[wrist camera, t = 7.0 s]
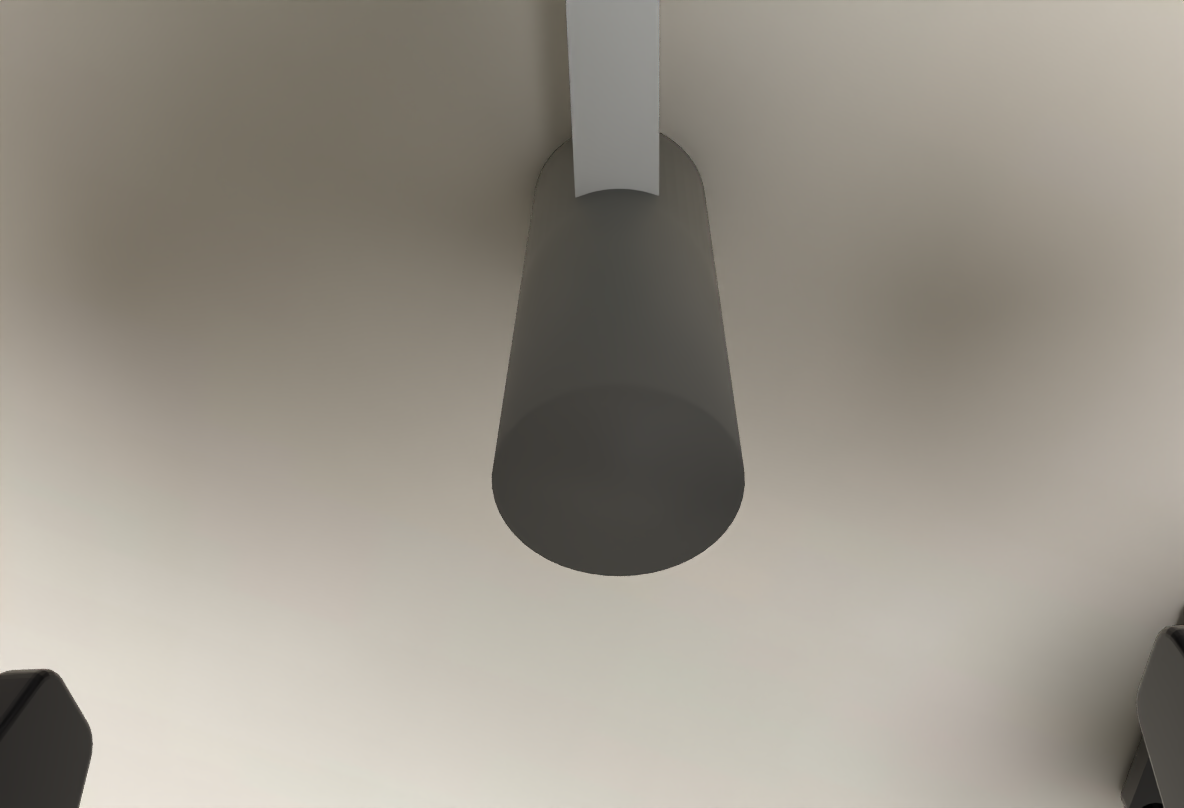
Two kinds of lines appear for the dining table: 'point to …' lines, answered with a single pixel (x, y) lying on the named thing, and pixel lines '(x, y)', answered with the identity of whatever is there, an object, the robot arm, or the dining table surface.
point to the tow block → (618, 330)
